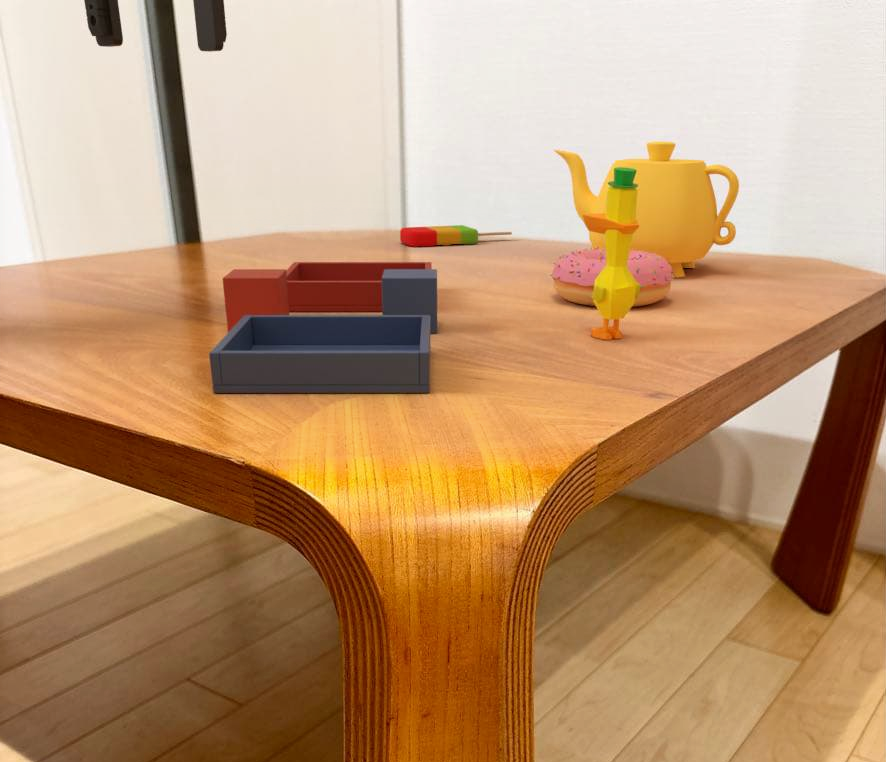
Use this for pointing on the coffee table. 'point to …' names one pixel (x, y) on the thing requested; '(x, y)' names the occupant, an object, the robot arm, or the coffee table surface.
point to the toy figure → (615, 253)
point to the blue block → (410, 293)
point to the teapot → (664, 204)
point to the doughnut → (584, 266)
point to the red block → (255, 293)
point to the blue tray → (324, 354)
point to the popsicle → (442, 235)
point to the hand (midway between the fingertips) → (162, 48)
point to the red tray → (340, 285)
